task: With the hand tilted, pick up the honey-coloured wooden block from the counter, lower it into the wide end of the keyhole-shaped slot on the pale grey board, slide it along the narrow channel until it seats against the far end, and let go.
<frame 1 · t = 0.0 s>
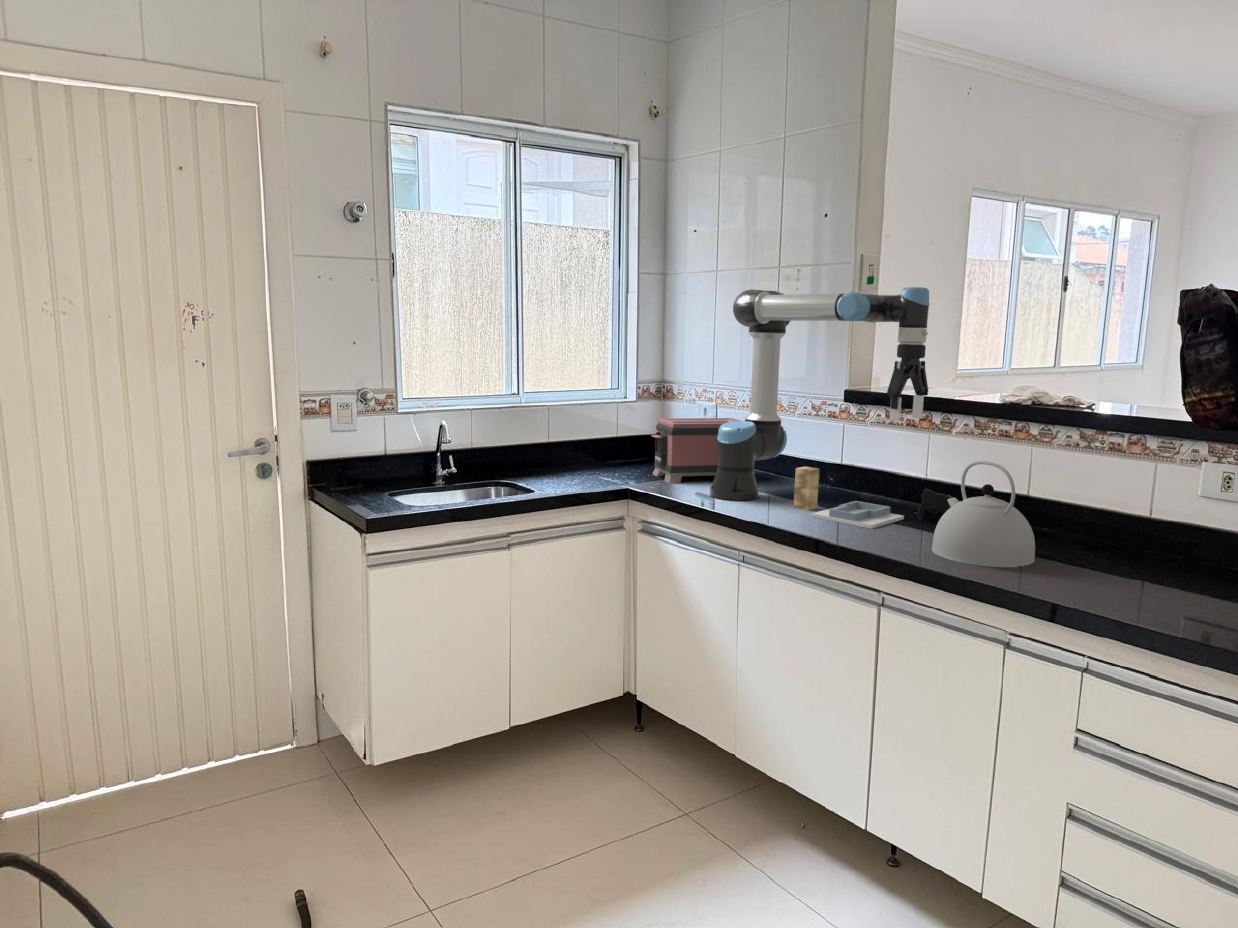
hand: (906, 419, 239), 28 cm above the worktop, tool pointing down, fingers open, 13 cm apart
block: (805, 508, 252), on the worktop
keyhole board: (857, 517, 240), on the worktop
kettle: (978, 554, 203), on the worktop
toaster: (697, 478, 302), on the worktop
gun: (946, 523, 236), on the worktop
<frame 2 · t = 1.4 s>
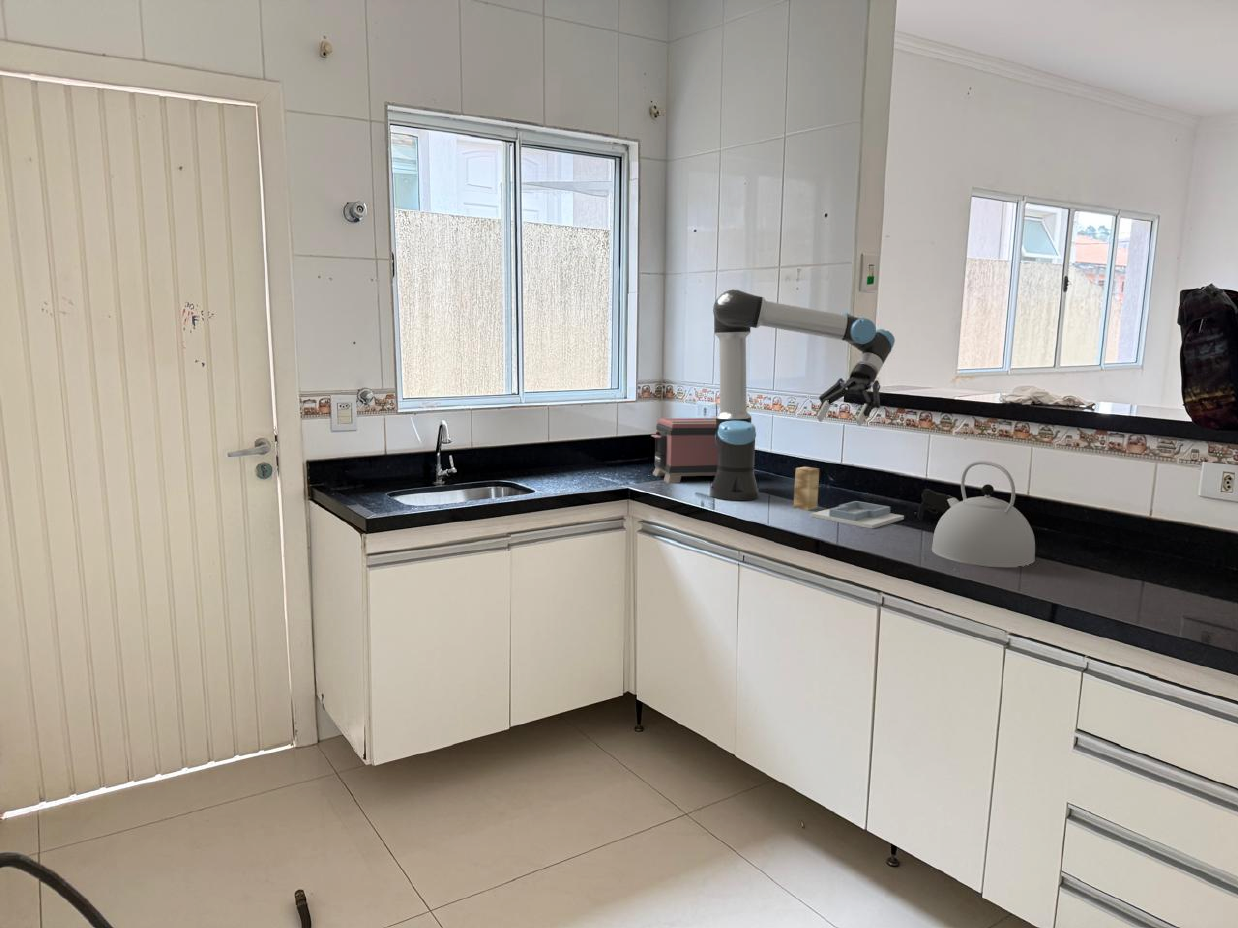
hand: (838, 420, 259), 25 cm above the worktop, tool tilted 45°, fingers open, 13 cm apart
nothing on the worktop moved.
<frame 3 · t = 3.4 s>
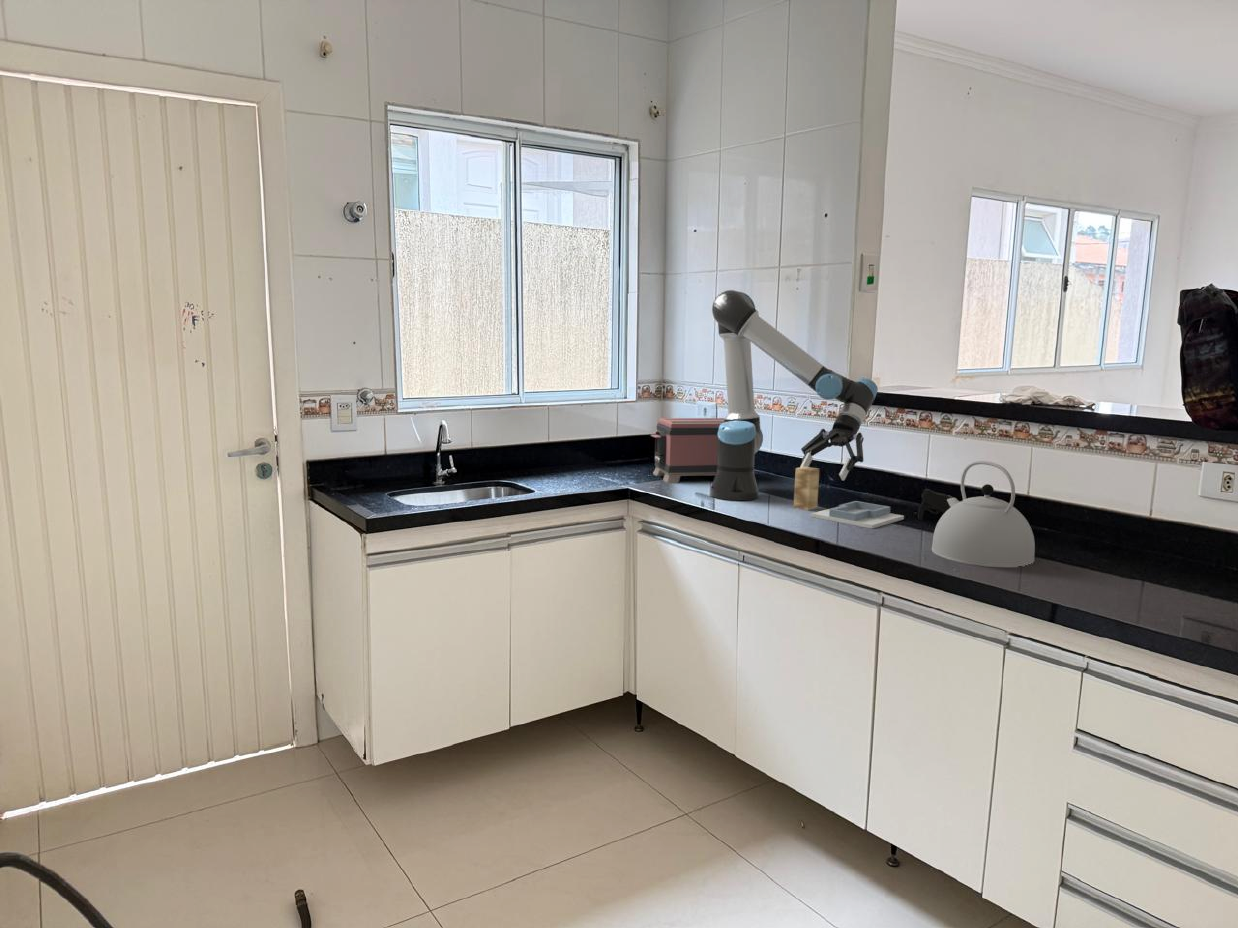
hand: (821, 474, 253), 10 cm above the worktop, tool tilted 45°, fingers open, 13 cm apart
nothing on the worktop moved.
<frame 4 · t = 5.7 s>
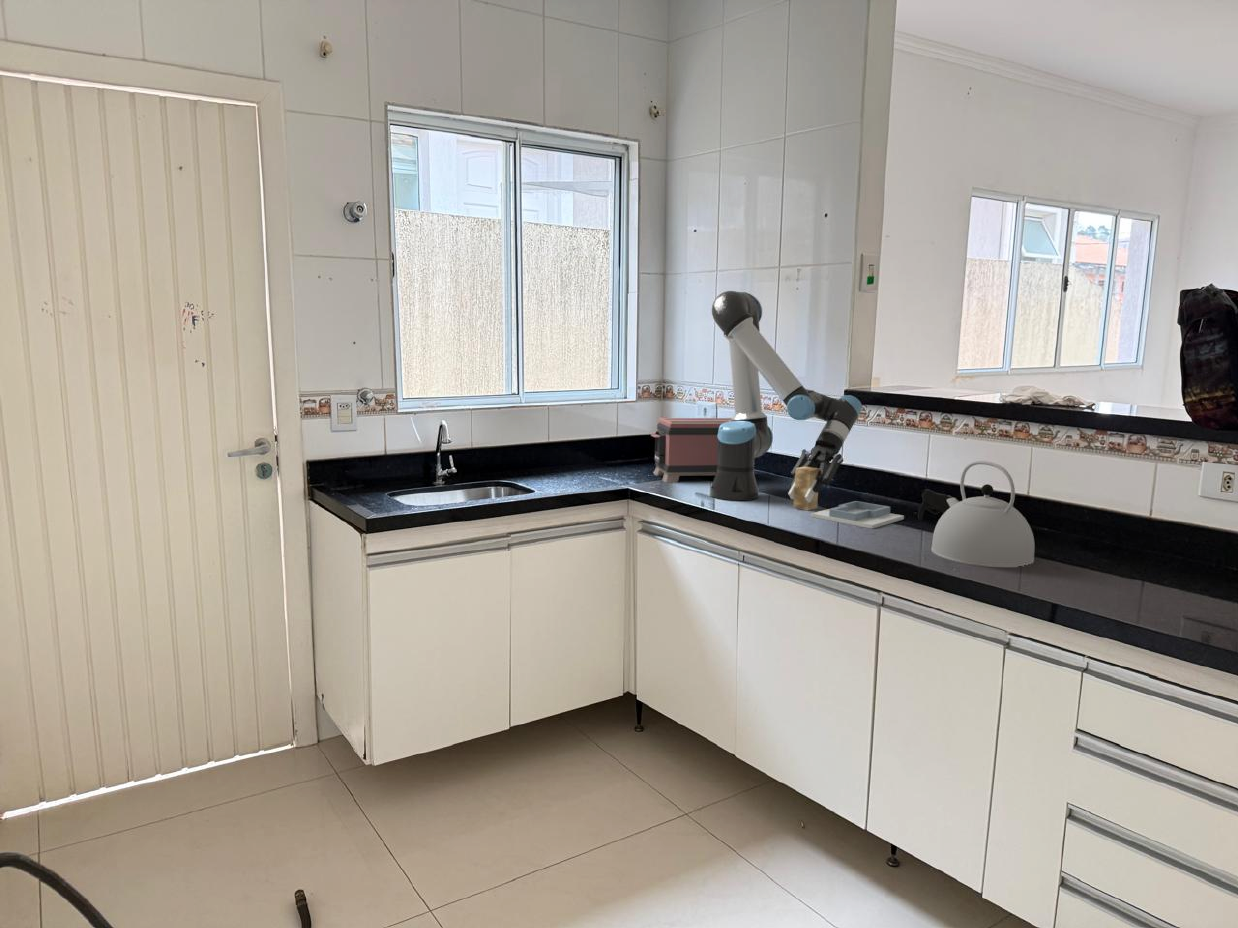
hand: (799, 497, 249), 4 cm above the worktop, tool tilted 45°, fingers closed on block, 5 cm apart
block: (805, 507, 252), on the worktop, touching gripper
everything else where it was.
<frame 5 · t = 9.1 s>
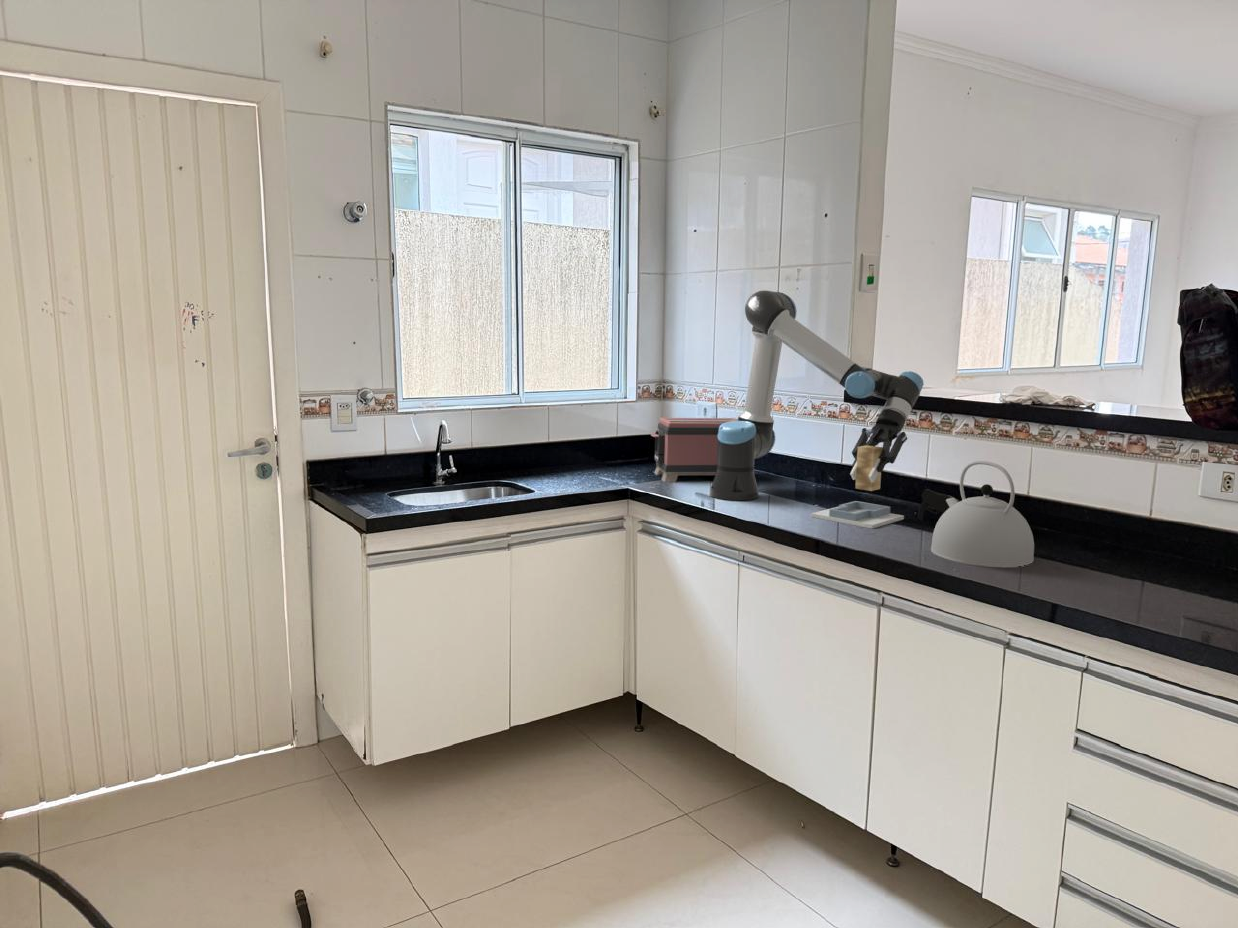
hand: (861, 478, 238), 12 cm above the worktop, tool tilted 45°, fingers closed on block, 5 cm apart
block: (867, 488, 241), point 8 cm above the worktop, touching gripper
when the fingers open (5 cm above the worktop, at t = 12.5 s): block stays where it is, resting on keyhole board.
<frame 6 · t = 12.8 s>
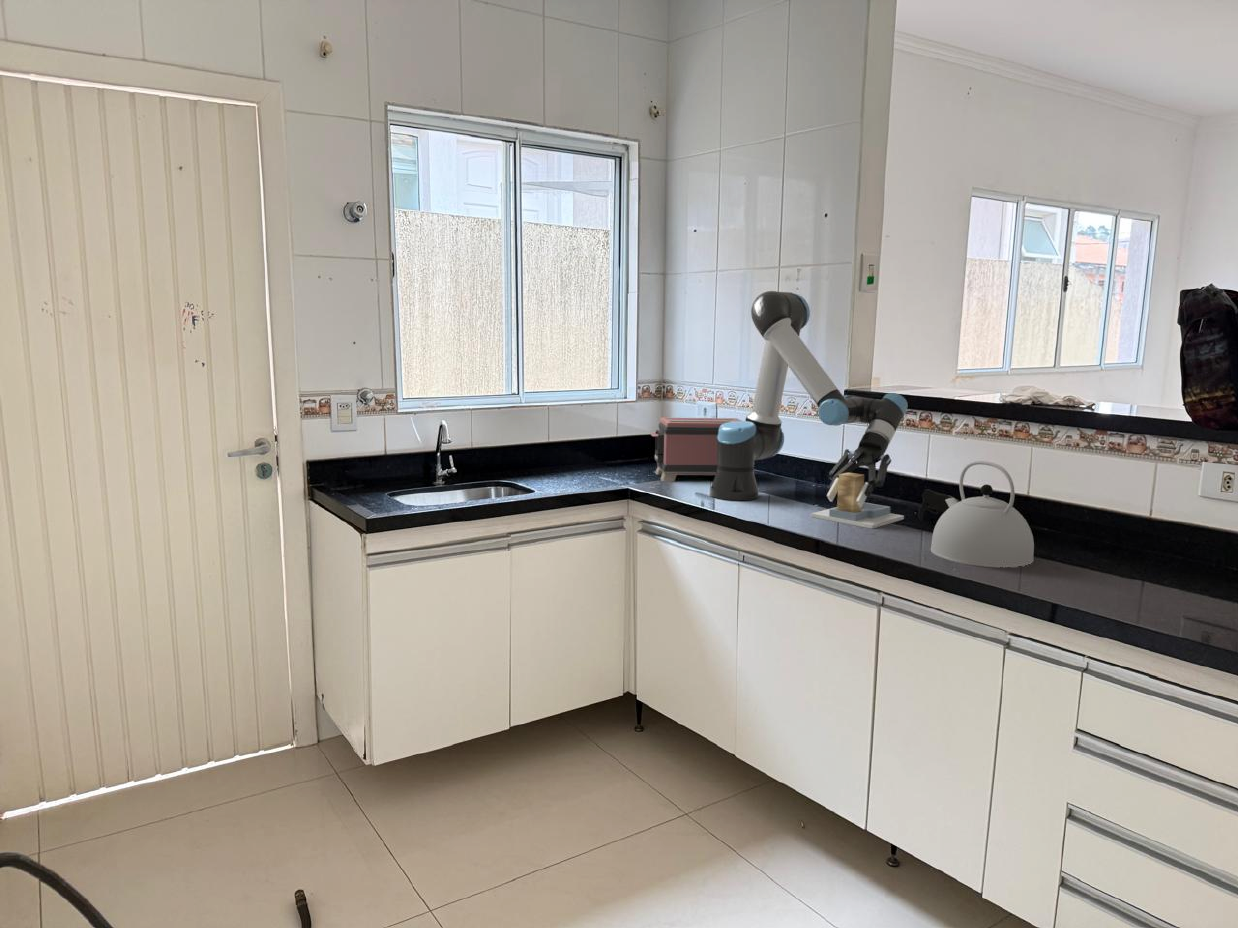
hand: (843, 501, 233), 6 cm above the worktop, tool tilted 45°, fingers open, 8 cm apart
block: (849, 516, 236), point 1 cm above the worktop, touching keyhole board
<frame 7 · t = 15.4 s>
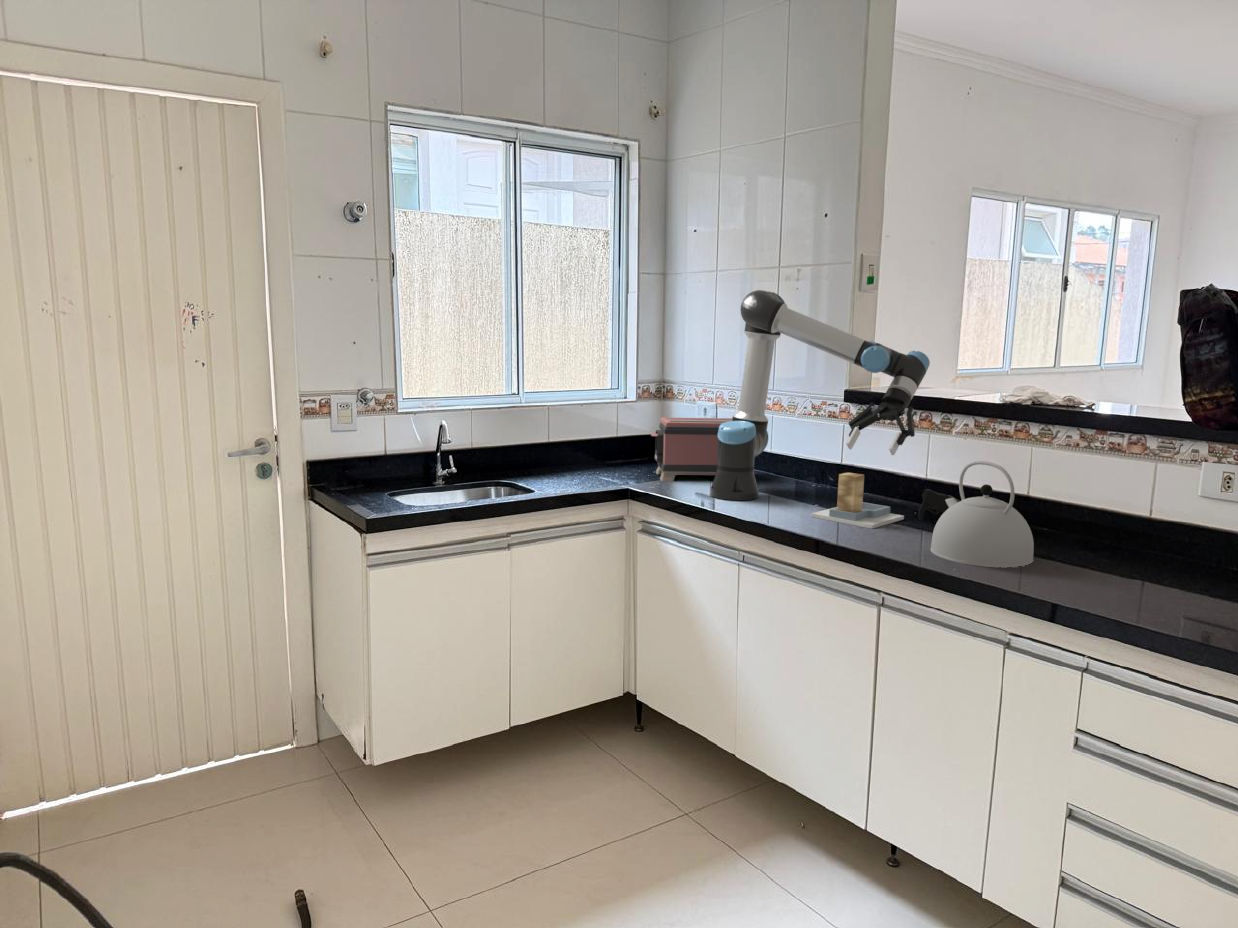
hand: (869, 449, 243), 19 cm above the worktop, tool tilted 45°, fingers open, 13 cm apart
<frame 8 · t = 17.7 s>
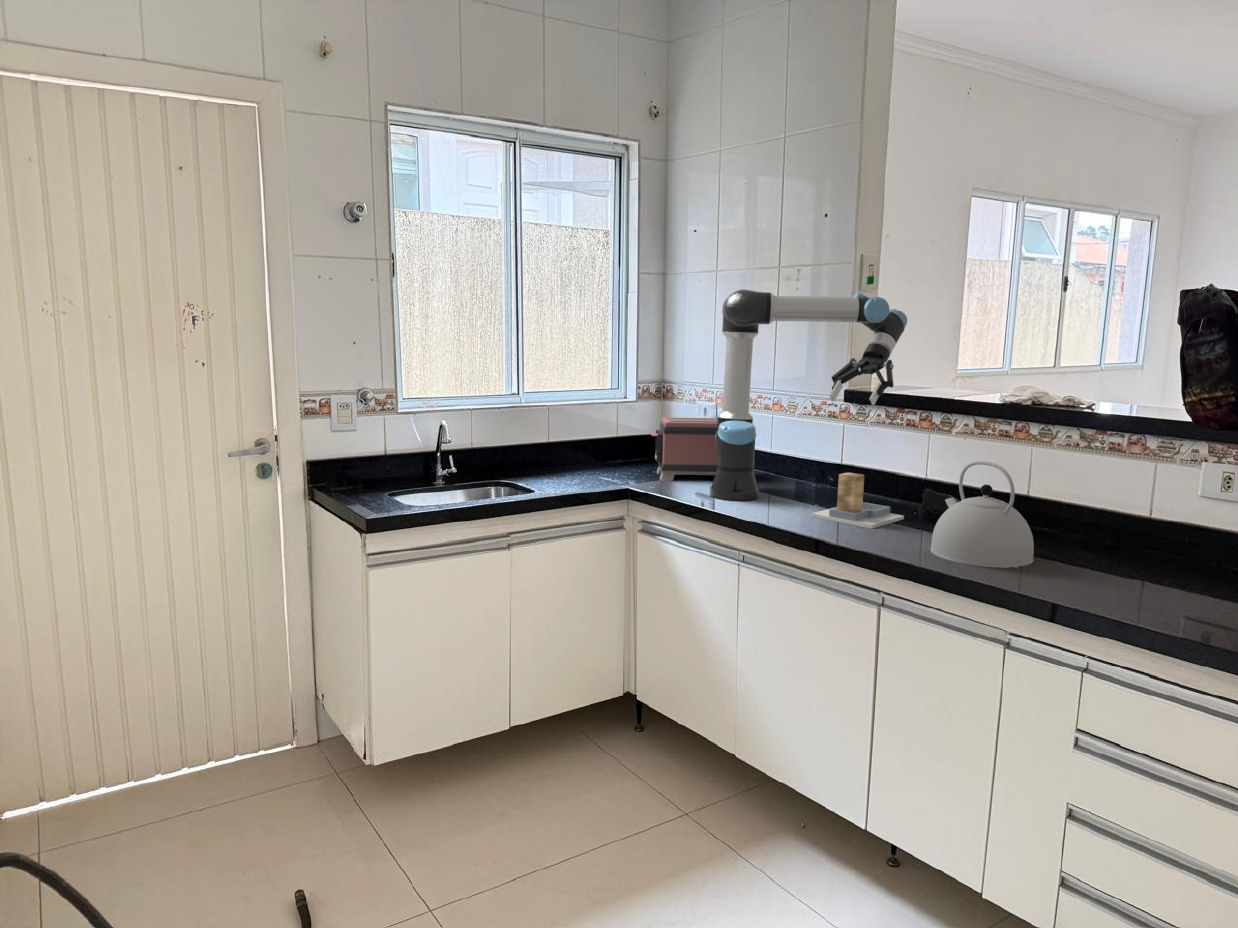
hand: (851, 400, 257), 32 cm above the worktop, tool tilted 45°, fingers open, 13 cm apart
at the end: block 0.2 cm from the target spot on the keyhole board, point 1.0 cm above the keyhole board's base; block tilted 0°; the gripper is holding nothing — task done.
